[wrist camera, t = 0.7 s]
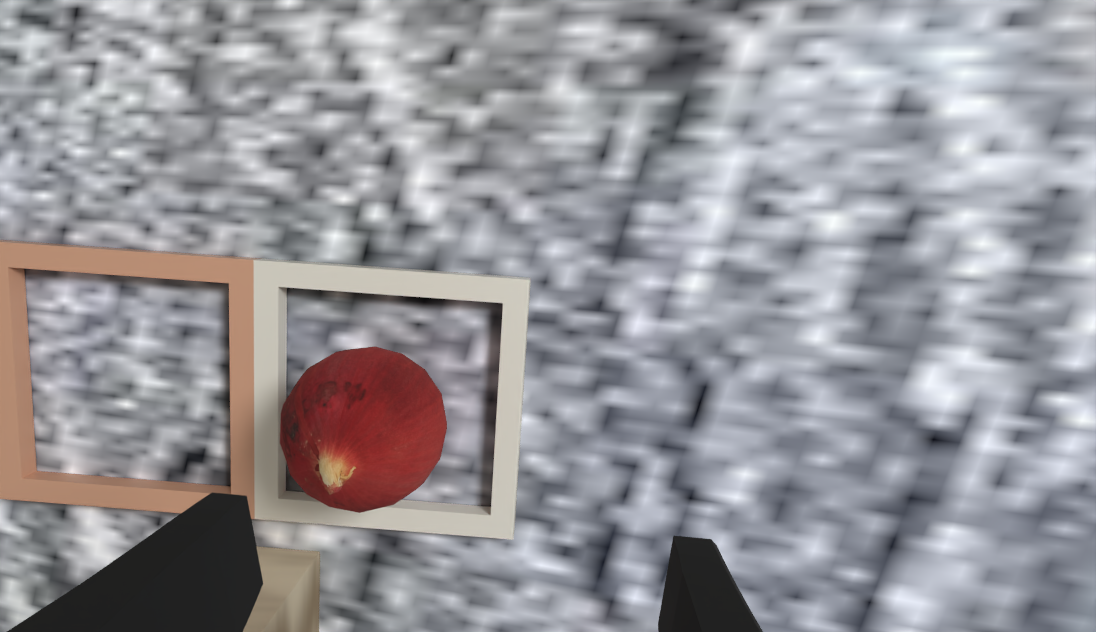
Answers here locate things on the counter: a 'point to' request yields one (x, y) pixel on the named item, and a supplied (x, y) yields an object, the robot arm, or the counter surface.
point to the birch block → (287, 592)
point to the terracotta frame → (6, 394)
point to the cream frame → (402, 282)
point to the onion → (362, 429)
